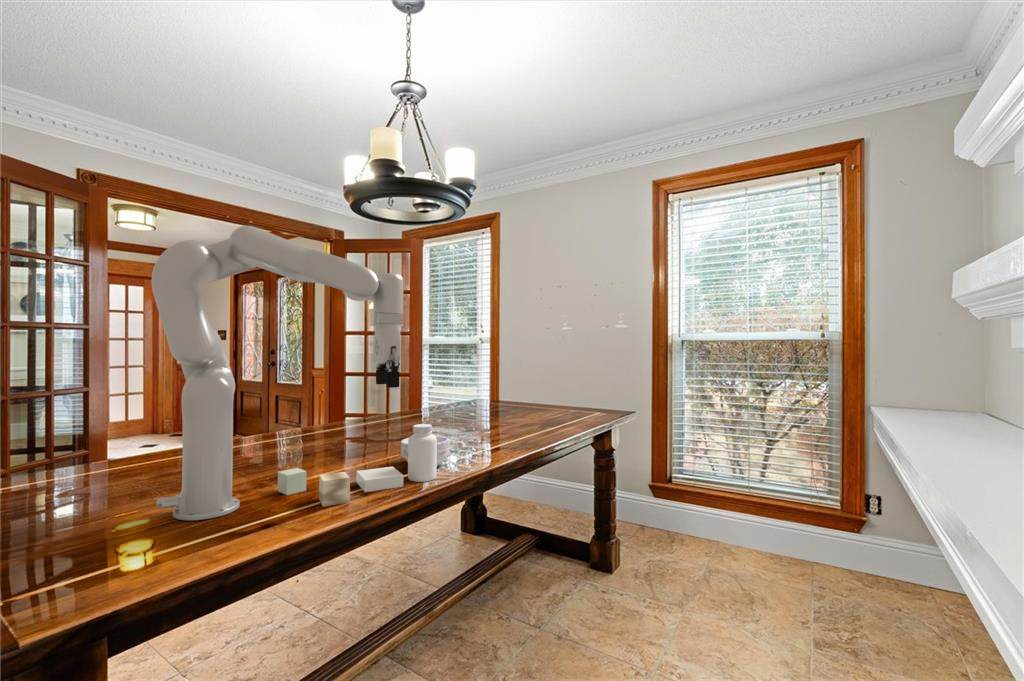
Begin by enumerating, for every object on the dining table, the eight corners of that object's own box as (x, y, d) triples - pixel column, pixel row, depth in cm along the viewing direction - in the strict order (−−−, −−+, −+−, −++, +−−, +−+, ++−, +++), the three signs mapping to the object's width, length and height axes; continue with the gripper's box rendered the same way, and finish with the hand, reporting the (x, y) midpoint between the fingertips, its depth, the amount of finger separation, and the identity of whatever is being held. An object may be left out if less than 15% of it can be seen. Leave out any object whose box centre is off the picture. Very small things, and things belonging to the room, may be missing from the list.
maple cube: (322, 507, 110) (323, 481, 110) (318, 499, 115) (319, 474, 115) (349, 502, 113) (350, 477, 113) (344, 495, 118) (344, 471, 118)
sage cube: (286, 495, 118) (287, 475, 118) (277, 491, 121) (277, 471, 121) (306, 490, 122) (306, 471, 122) (296, 486, 125) (297, 467, 125)
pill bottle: (401, 479, 132) (402, 426, 132) (420, 473, 139) (420, 421, 139) (424, 484, 128) (425, 428, 128) (442, 476, 135) (442, 424, 136)
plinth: (365, 492, 121) (365, 480, 121) (356, 481, 129) (356, 470, 129) (403, 486, 126) (403, 475, 126) (392, 477, 135) (392, 466, 135)
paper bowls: (407, 458, 157) (407, 434, 157) (453, 459, 156) (453, 435, 156) (394, 470, 142) (394, 443, 142) (444, 471, 141) (445, 445, 141)
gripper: (365, 321, 130) (364, 383, 130) (383, 319, 116) (382, 389, 116) (392, 322, 134) (391, 382, 134) (413, 320, 119) (411, 388, 119)
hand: (387, 385), depth 125 cm, fingers open, 9 cm apart
